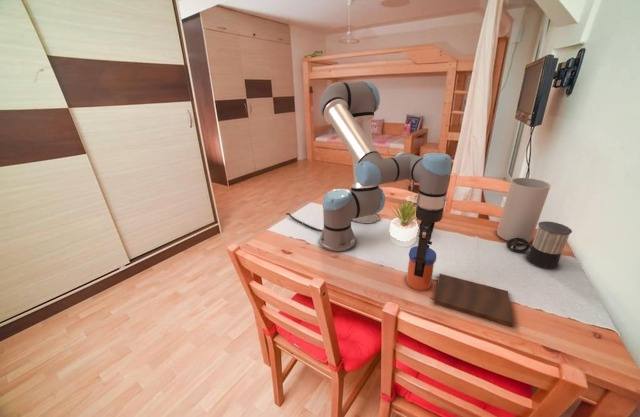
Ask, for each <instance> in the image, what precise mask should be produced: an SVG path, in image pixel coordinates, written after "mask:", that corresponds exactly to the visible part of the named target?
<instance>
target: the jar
mask: <svg viewBox="0 0 640 417" xmlns="http://www.w3.org/2000/svg"><path fill="white" fill-rule="evenodd" d="M434 267H435V263H434V264H432V265H425V267H424V273H423V278H422V277H419V276H415V275H414V270H415V262H413V261H412V260H411V259H410V258H409V257H408V266H407V272H406V284H407V285H408V286H409V287H411V288H412V289H414V290H418V291H426V290H428V289H430V287H431V284H432V280H433V273H434Z"/></svg>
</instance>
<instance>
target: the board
mask: <svg viewBox="0 0 640 417" xmlns="http://www.w3.org/2000/svg"><path fill="white" fill-rule="evenodd" d="M434 304H435V305H438V306H442V307H444V308H448V309H452V310H455V311H458V312H461V313H465V314H468V315H471V316H474V317H478V318H481V319H484V320H488V321H491V322H494V323H497V324H501V325H504V326H507V327H513V325H514V320H513V313H512V307H511V302H510V294H509V291H508V290H505V289H502V288H498V287H494V286H490V285H486V284H482V283H479V282H474V281H471V280H466V279H462V278H458V277H455V276H451V275H447V274H443V273H439V274H438V281H437V285H436V290H435V297H434Z"/></svg>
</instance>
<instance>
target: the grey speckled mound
mask: <svg viewBox="0 0 640 417" xmlns="http://www.w3.org/2000/svg"><path fill="white" fill-rule="evenodd" d="M379 220H380V217H379V216H378V215H377V213H376V214H374V215H369V216H364V217H360V218H355V219H352V220H351V221H353V222H358V223H362V224H373V223H376V222H377V221H379Z"/></svg>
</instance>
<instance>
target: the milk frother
mask: <svg viewBox="0 0 640 417" xmlns="http://www.w3.org/2000/svg"><path fill="white" fill-rule="evenodd" d="M537 226H538V227H537V230H536V233H535V236H534V239H533V240H532V241H533V242H532V243H531V244H530V242H529V243H528V242H527V241H526V240H525V239H522V238H513V239H510V240H508V241H506V244H505V245H506V247H507V248H508V249H509V250H510V251H512V252H514V253H515V252H516V253H525V252H527V251H528V250H529V249H530V250H529V251H528V254H527V255H526V259H527V261H528V262H529V263H530V264H532V265H534V266H537V267H540V268H542V269H549V270H553V269H557V268H558V266H559V261H560V259H561V257H562V254H563V252H564V249H565V247H566V245H567V242H568V239H569V237H570V235H571V234H572V233H573V229H571V228H570V227H569V226H567V225H564V224H562V223H558V222H554V221H547V220H546V221H545V220H544V221H539V222H538V223H537ZM517 241H519V242H522V243H524V244H523V245H524V248H516V247H517Z"/></svg>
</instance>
